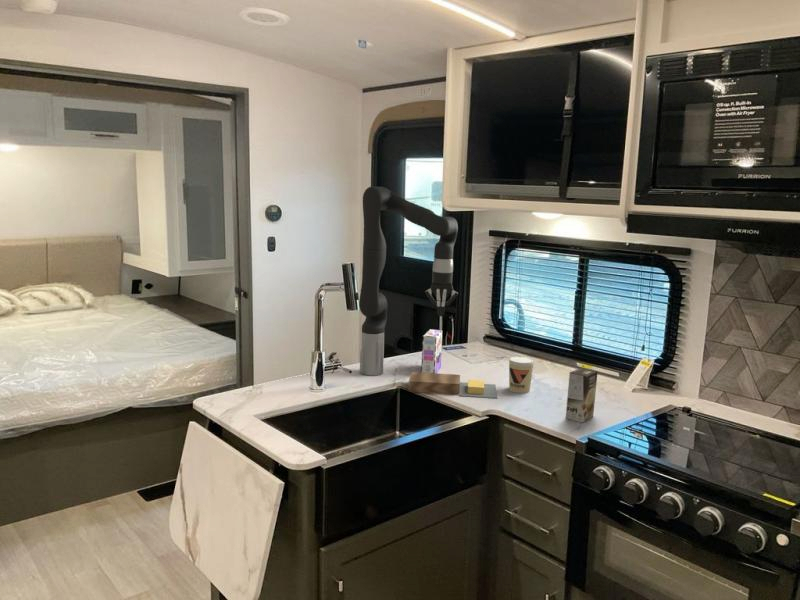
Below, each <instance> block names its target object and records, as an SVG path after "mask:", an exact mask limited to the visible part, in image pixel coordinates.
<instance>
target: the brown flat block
mask: <svg viewBox="0 0 800 600" xmlns="http://www.w3.org/2000/svg"><path fill="white" fill-rule="evenodd" d="M460 382H461V374H456V373H455V374H451V373H438V372H437V373H421V372H419V371H418V372H417V371H411V373H410V376H409V380H408V392H411V393H412V392H413V393H415V392H416V393H428V394H429V393H430V394H445V395H446V394H448V395H449V394H450V395H459V392H460Z"/></svg>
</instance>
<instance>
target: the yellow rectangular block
mask: <svg viewBox="0 0 800 600" xmlns="http://www.w3.org/2000/svg"><path fill="white" fill-rule="evenodd" d="M484 382H485V380H479V379H467V383H468V393H474V394H484V384H485V383H484Z"/></svg>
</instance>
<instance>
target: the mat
mask: <svg viewBox="0 0 800 600" xmlns="http://www.w3.org/2000/svg"><path fill="white" fill-rule="evenodd" d="M458 395H459V397H464V398H466V397H467V398H481V399H482V398H484V399H496V400H497V399H499V397H498V392H497V385H496V384H493V383H484V394H474V393H468V382H463V381H462V382H461V381H460V392H459V394H458Z"/></svg>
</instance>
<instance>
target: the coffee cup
mask: <svg viewBox="0 0 800 600" xmlns="http://www.w3.org/2000/svg"><path fill="white" fill-rule="evenodd" d="M534 364H535V363H534V360H533V359H532V358H530V357H525V356H513V357H510V358H509V359H508V365H509V366H508V369H509V371H508V373H509V374H508V384H509V387H508V388H509V390H510V391H511V392H512V393H516V394H526V393H530V390H531V384H532V378H533V371H534Z"/></svg>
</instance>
